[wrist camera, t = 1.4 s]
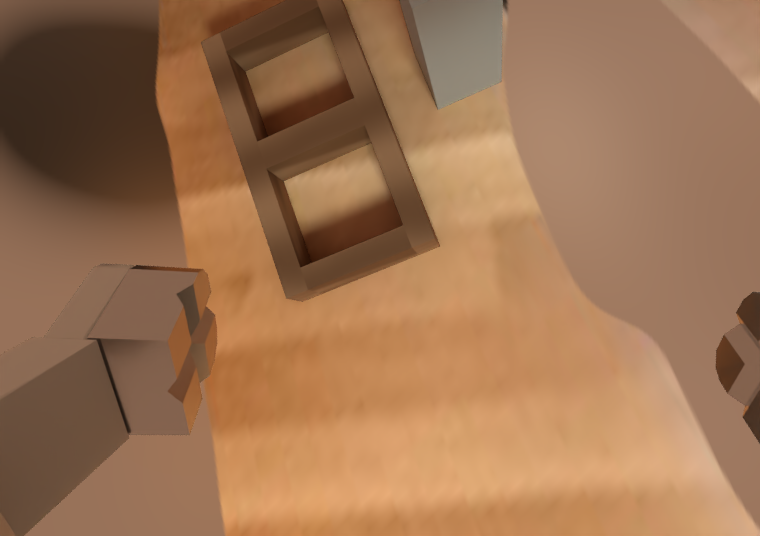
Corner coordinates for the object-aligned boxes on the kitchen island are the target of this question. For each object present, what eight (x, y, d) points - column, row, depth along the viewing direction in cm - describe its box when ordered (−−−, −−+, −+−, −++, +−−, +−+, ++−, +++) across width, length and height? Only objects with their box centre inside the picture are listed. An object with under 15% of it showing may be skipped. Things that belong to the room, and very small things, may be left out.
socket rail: (221, 62, 42) (200, 42, 39) (343, 3, 41) (332, -23, 38) (302, 301, 38) (286, 298, 36) (440, 246, 37) (435, 238, 34)
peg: (414, 52, 39) (379, -70, 27) (475, 24, 38) (466, -113, 27) (437, 109, 38) (412, 8, 27) (501, 81, 38) (503, -35, 26)
